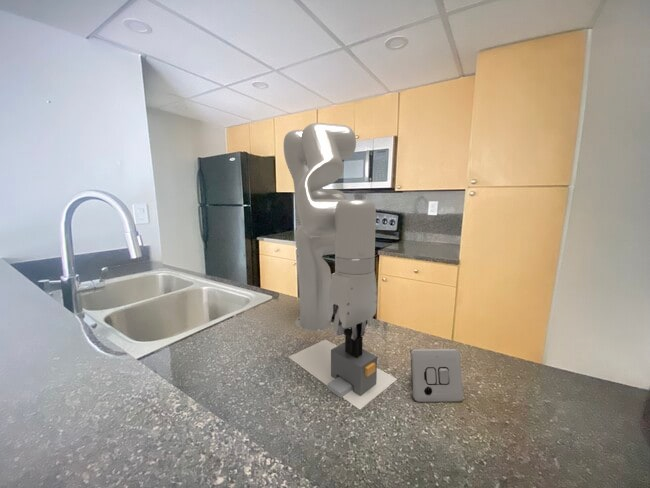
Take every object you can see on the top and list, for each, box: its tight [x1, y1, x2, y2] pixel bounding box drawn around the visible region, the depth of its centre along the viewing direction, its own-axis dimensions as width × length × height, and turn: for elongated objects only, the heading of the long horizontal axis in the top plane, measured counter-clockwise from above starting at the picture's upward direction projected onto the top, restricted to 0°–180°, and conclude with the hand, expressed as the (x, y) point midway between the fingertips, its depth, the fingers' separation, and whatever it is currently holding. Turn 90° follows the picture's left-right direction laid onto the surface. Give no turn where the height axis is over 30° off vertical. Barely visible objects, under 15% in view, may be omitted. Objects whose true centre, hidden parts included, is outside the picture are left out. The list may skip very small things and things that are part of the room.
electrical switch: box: [409, 348, 464, 403], centre depth 51 cm, size 9×5×9 cm, turn 90°
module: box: [331, 342, 378, 396], centre depth 53 cm, size 5×9×6 cm, turn 43°
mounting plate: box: [288, 339, 398, 410], centre depth 58 cm, size 12×22×2 cm, turn 42°
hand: (353, 353), depth 53 cm, fingers closed
